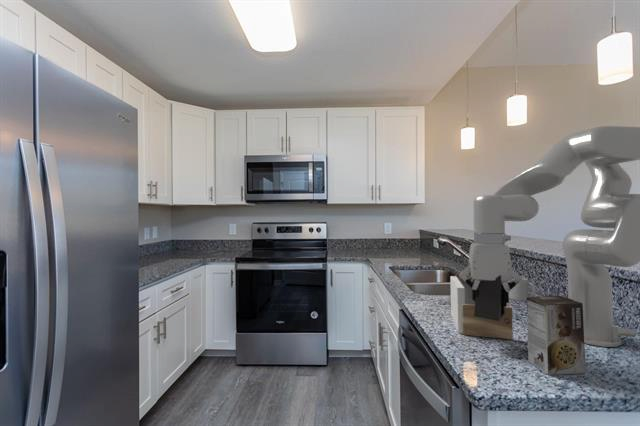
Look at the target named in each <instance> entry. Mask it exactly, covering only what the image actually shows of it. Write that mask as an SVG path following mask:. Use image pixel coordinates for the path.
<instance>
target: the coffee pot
mask: <svg viewBox="0 0 640 426" xmlns="http://www.w3.org/2000/svg"><path fill="white" fill-rule="evenodd" d="M454 276H456V277H457V278H458V280H459V281H460V282H461V284H462V285H463V287H464V288H465V304H474V305H475V302H474V300H472V288H471V287H470V286H469V285H468V284H467V283H466V282H465V281H464V280H463V279H462V278H461V277H460V276H459V274H458V275H457V274H455V275H454ZM466 277H467V278H468V279H469V280H470V281H471V282H472V280H473V278H472V277H471V276H470V275H468V274H467V275H466ZM511 281H512V279H511ZM447 303H448V305H449V307H451V294H450V295H449V297H448V300H447Z"/></svg>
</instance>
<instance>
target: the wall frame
mask: <svg viewBox="0 0 640 426" xmlns="http://www.w3.org/2000/svg"><path fill="white" fill-rule="evenodd" d="M449 277H450V295H451V306H450V315H451V318H452V320H453V323H454V325H455V328H456V331H457V333H458V334H462V335H464V334H463V317H462V304H465V288H464V287H463V285H462V284H461V282H460V281H459V280H458V278H457V277H456V276H455V275H454V276H453V275H451V276H449Z"/></svg>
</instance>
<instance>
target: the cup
mask: <svg viewBox="0 0 640 426" xmlns="http://www.w3.org/2000/svg"><path fill="white" fill-rule="evenodd" d="M521 277H522V281H520V282H519V283H518V284H516V286H515V287H513V288H512V289H511V290H510V292H509V298H510V300H511V299H512V300H513V301H517V302H527V297H536V294H537V288H536V287H537V286H535V284H534V283H533V282H531V281H529V279H528V278H527V277H523V276H521ZM511 279H512V280H513V279H514V277H513V276H512V278H511ZM510 281H511V280H510ZM510 281H507V283H508V282H510ZM529 287H530V288H531V292H530V293H529ZM512 300H511V301H512Z"/></svg>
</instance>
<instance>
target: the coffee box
mask: <svg viewBox="0 0 640 426" xmlns="http://www.w3.org/2000/svg"><path fill="white" fill-rule="evenodd" d="M526 321H527V323H526V325H527V326H526V327H527V350H528V353H527V356H528V358H527V359H528V363H529V364H531V365H532V366H534V367H535V368H537V369H538V370H540V371H541V372H543V373H544V374H545V375H548V376H555V375H569V374H570V375H574V374H576V375H577V374H586V373H587V372H586V353H585V349H586V348H585V343H584V322H583V303H580V302H577V301H574V300H572V299H569V298H568V297H566V296H562V295H549V296H548V295H547V296H534V297H527V301H526Z"/></svg>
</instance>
